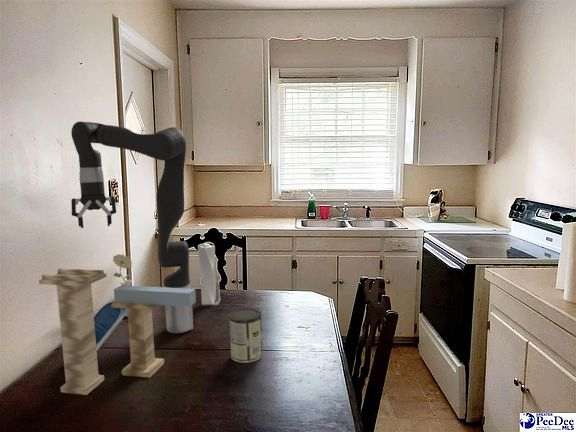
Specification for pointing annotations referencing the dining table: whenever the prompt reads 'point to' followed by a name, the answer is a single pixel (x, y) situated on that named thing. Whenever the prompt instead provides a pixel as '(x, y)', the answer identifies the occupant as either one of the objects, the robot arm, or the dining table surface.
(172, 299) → the bar
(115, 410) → the dining table surface
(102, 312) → the blue food package
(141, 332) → the short wooden pedestal
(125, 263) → the flower in vase
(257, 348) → the coffee can
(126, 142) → the robot arm
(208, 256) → the skyscraper
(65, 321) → the tall stand
